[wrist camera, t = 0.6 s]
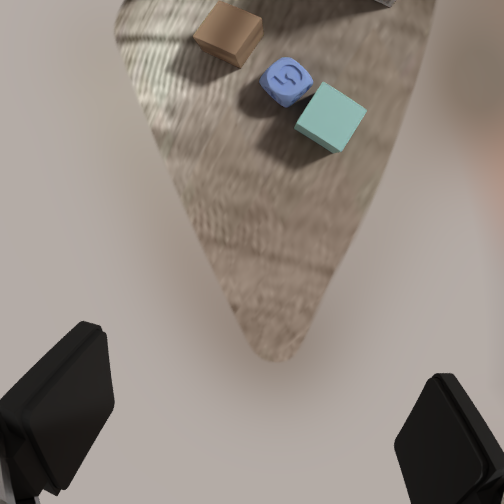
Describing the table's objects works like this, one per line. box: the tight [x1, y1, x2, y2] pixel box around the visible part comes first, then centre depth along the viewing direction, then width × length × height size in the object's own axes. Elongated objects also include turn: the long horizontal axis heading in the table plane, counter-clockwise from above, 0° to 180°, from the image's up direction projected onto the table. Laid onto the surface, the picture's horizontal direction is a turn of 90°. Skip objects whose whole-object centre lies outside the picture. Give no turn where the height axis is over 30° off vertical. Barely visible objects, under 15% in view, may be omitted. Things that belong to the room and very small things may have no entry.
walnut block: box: [193, 1, 264, 69], centre depth 29 cm, size 5×5×5 cm
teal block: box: [294, 82, 367, 153], centre depth 30 cm, size 5×5×5 cm
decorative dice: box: [259, 57, 313, 107], centre depth 30 cm, size 4×4×4 cm
